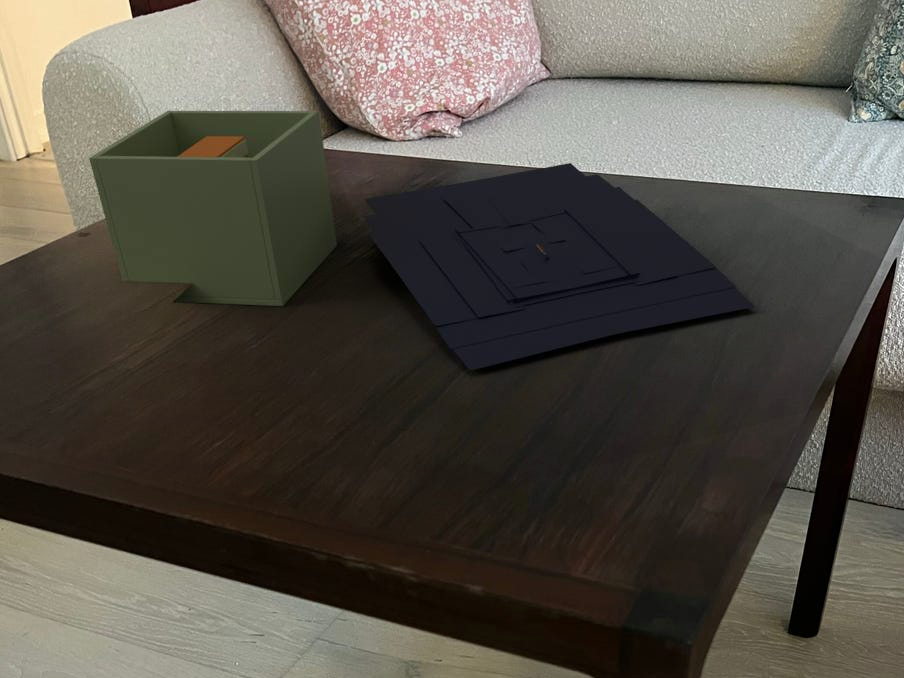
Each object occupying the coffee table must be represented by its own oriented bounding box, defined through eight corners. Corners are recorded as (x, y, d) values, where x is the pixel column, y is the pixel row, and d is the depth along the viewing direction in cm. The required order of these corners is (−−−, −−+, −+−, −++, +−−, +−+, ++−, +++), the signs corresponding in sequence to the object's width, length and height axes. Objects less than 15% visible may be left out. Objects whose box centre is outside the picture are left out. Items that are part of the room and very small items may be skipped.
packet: (202, 278, 91) (175, 156, 85) (230, 253, 96) (206, 135, 90) (241, 279, 91) (216, 157, 84) (266, 254, 95) (245, 136, 89)
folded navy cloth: (586, 188, 102) (589, 150, 100) (752, 337, 83) (761, 295, 80) (347, 232, 96) (343, 192, 94) (466, 404, 77) (466, 360, 74)
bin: (127, 300, 90) (88, 157, 82) (196, 241, 100) (167, 110, 93) (282, 306, 87) (257, 159, 80) (337, 245, 98) (318, 110, 90)
